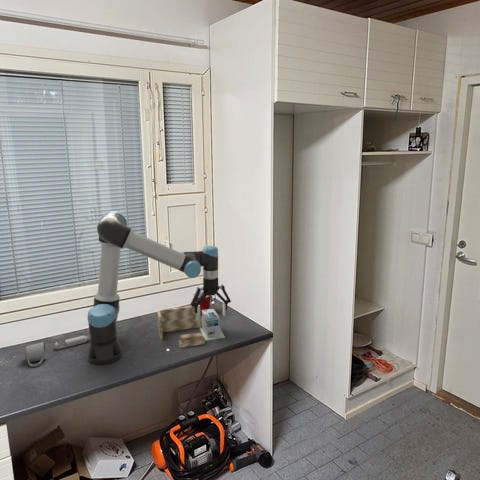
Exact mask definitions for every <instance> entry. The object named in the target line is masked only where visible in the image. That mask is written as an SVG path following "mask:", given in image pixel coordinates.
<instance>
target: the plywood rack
mask: <svg viewBox="0 0 480 480" xmlns="http://www.w3.org/2000/svg"><path fill="white" fill-rule="evenodd" d="M198 307H199V320H197V313H195V311H194V307H192V306H191V305H187V306H180V307H173V308H164V309H157V310H156V311H157V312H156V314H157V330H158V335H159V338H160V341H163V340H164V334H163V333H167V332H175V331H181V330H183V331H184V330H188V329H189V330H190V329H197V328H202V325H201V323H202V322H201V321H202V320H201V319H202V316H201V315H200V305H198Z"/></svg>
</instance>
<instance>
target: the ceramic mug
mask: <svg viewBox="0 0 480 480" xmlns="http://www.w3.org/2000/svg"><path fill="white" fill-rule="evenodd" d="M45 344H46V343H45V341H43V342H42V341H41V342H38V343H34V344H28V345H27V346H25V347H24V359H25V361H26V362H27V363H28V366H29V367H32V368H36V367H39V366H41V364H42V363H43V361H44V360H47V351H46V345H45ZM38 361H39V362H38ZM31 362H33V363H34V362H37V363H35V364H32V363H31Z"/></svg>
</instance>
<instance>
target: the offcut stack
mask: <svg viewBox="0 0 480 480" xmlns="http://www.w3.org/2000/svg"><path fill="white" fill-rule="evenodd" d="M205 344H206V341H205V339H204V336H203V334H202V333H201V332H196V333H195V332H194V333H186V334H180V335H179V340H178V345H179V348H186V347H194V346H199V345H205Z"/></svg>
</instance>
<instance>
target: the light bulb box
mask: <svg viewBox="0 0 480 480" xmlns="http://www.w3.org/2000/svg"><path fill="white" fill-rule="evenodd" d="M201 319H202V320H201V321H202V322H201V323H202V325H201V328H202V329H203V331H204V332H205V334H206V336H207V337H208V338H209V337H215V336H220V329H221V328H220V327H221V326H220V321H221V320H220V315H219V314H218V313H217V311H216V310H215V309H214V308H209V309H208V310H202V315H201Z"/></svg>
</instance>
